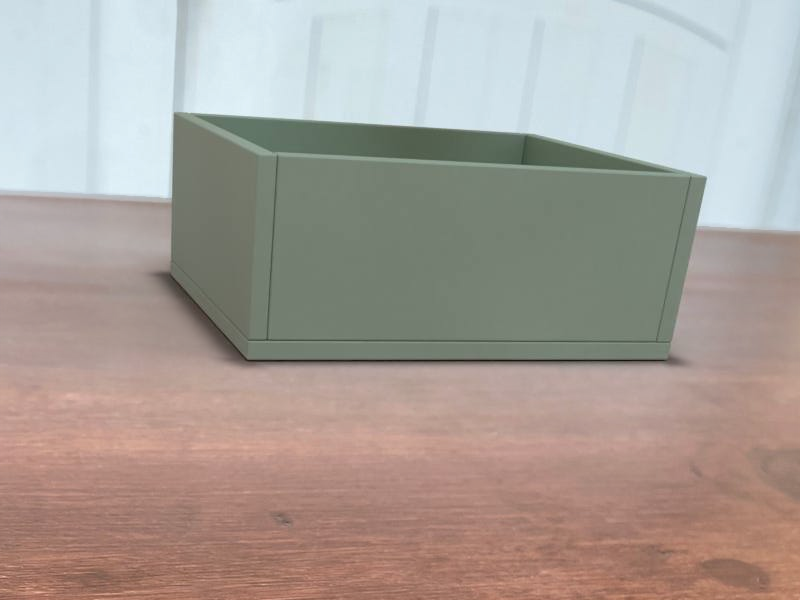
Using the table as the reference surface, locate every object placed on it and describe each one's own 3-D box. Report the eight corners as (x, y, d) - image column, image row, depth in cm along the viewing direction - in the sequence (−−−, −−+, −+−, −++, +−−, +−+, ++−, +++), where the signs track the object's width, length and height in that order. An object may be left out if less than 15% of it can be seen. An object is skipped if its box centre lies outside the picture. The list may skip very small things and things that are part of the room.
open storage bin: (511, 281, 67) (533, 133, 64) (668, 360, 54) (708, 176, 50) (170, 275, 62) (173, 111, 58) (247, 360, 48) (257, 153, 44)
